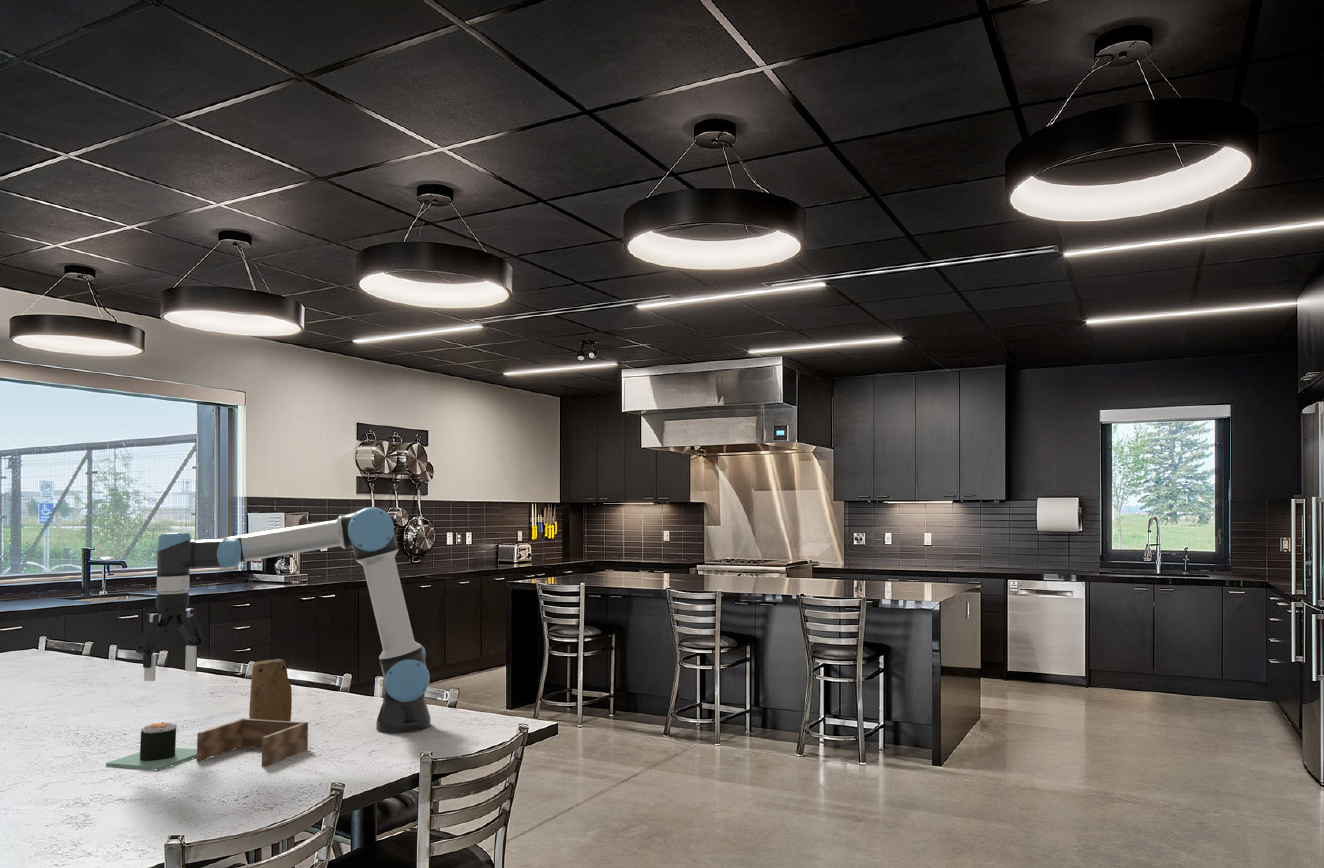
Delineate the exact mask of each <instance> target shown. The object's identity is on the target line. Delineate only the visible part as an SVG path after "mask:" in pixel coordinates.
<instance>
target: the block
mask: <svg viewBox="0 0 1324 868" xmlns="http://www.w3.org/2000/svg"><path fill="white" fill-rule="evenodd" d="M250 679H251V680H250V692H249V693H250V697H249V713H248V714H249V715H248V717H249V718H248V719H260V720H276V721H291V720H292V707H293V706H292V705H293V704H292V703H293V702H292V701H293V698H292V697H293V695H292V689H293V688H292V685H291V682H290V681H289V677H288V670H287V664H286V661H285V660H283V659H279V658H276V659H265V660H260V661H258V660H257V661H255V662H254V663H253V664H252V670H251V678H250Z"/></svg>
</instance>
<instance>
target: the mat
mask: <svg viewBox="0 0 1324 868" xmlns="http://www.w3.org/2000/svg"><path fill="white" fill-rule="evenodd" d="M194 757H196V758H197V748H196V749H195V748H186V747H185V748H183V747H182V748H181V747H175V756H173V757H170V758H167V759H160V760H153V761H142V760H140V751H139V752H136V753H133V754H130V755H129V754H128V755H126V756H123V757H120V758H117V759H114V760H110V761H108V762H105V766H106V767H109V766H113V768H121V767H124V768H123V769H135V770H146V769H157V770H156V771H158V770H159V771H161V770H160V769H162V770H164V768H165V769H167V768H166V767H168V768H170V767H169V766H171V765H174V766H176V765H179V764H182V763H184V762H183V761H185V762H186V761H187V762H188V761H191V760H192V758H193V759H195V758H194ZM181 762H182V763H181ZM178 763H179V764H178ZM171 767H172V766H171Z"/></svg>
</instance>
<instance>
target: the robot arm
mask: <svg viewBox="0 0 1324 868" xmlns="http://www.w3.org/2000/svg"><path fill="white" fill-rule="evenodd" d="M394 529H395V525H394V521H393V519H392V517H391V515H390V514H389V513H388V512H387V511H385V510H384V509H383V508H379V507H375V506H368V507H364V508H362V509H359V510H358V511H355V512H352V513H348V514H343V515H339V516H338V517H337V518H336V519H334V520H333V519H332V520H327V521H321V522H320V521H319V522H314V523H307V524H302V525H296V526H289V527H283V528H277V529H276V528H275V529H271V530H264V531H258V532H257V531H256V532H251V533H245V534H244V533H243V534H239V535H232V536H224V537H218V538H215V539H213V538H211V539H209V538H208V539H192V537H191V534H190V532H163V533H161V534H160V535H159V536H158V542H157V549H156V592H158V593H157V594H156V595H155V607H156V609H158V611H157V612H158V613H148V614H147V618H146V624H145V626H144V629H143V631H142V635H141V636H140V638H139V642H138V645H137V646H136V650H135V653H137V654H139V655H142V667H143V668H144V669H143V670H144V671H143V672H144V673H143V681H144V682H155V681H156V669H157V665H156V664H157V663H156V661H157V654H156V653H154V652H155V650H156V649H157V647H158V646H159V644H160V643H161V641H162V640H163V638H164V636H165V634H166V633H168V632H169V631H170V630H174V629H177V630H178V631H179V633H180V634H181V636H182V637H183V639H184V640H185V641H186V643H187V644H188V645H186V646H185V663H184V664H185V665H184V666H185V667H184V671H185V672H196V671H197V657H198V649H199V647H198V646H201V645H202V644H203V643H204V641H205V637H204V634H203V631H202V629H201V626H200V622H199V620H198V618H197V610H196V608H193V607H192V608H191V607H190V608H188V607H189V605H190V593H189V592H188V591H189V590H190V579H191V578H190V573H191V572H190V571H191V570H190V569H193V570H194V569H196V570H197V569H219V568H220V569H221V568H222V569H227V568H228V569H229V568H236V567H238V566H239V565H240V564H241V563H244V562H250V561H251V562H252V561H256V560H261V559H262V560H263V559H268V558H274V557H280V556H286V555H291V554H293V555H294V554H299V553H305V552H311V551H317V550H323V549H329V548H335V547H341V548H342V549H344V550H345V549H350V548H351V549H352V551H353V555H354V560H355V562H357V563H358V564H360V565H361V566H362V567H363V571H364V575H365V580H366V583H367V589H368V592H369V596H370V601H371V605H372V610H373V613H374V617H375V622H376V626H377V630H378V634H379V638H380V643H381V646H382V651H381V653H380V654H379V656H378V658H379V664H380V667H381V668H380V669H381V672H382V675H383V683H382V684H383V688H382V689H383V690H382V691H383V692H382V695H383V697H382V703H381V707H380V710H379V712H378V715H377V719H376V724H375V725H376V731H378V732H381V733H388V734H403V733H405V734H406V733H412V732H418V731H422V730H426V729H427V728H429V727H430V726H431V720H432V719H431V715H430V712H429V707H428V706H427V702H426V697H425V694H426V693H425V692H426V691H427V689H428V687H429V685H430V681H431V676H430V671H429V669H428V667H427V664H426V657H427V654H426V648H425V647H424V646H423V645H422V644H421V643H419V642H417V641H415V637H414V633H413V629H412V625H411V621H410V616H409V613H408V608H407V604H406V599H405V597H404V591H403V587H402V584H401V583H402V582H401V579H400V575H399V571H398V566H397V563H396V562H397V561H396V555H397V553H398V551H399V547H398V542H397V537H396V533H395V530H394ZM202 642H203V643H202Z"/></svg>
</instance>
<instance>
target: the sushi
mask: <svg viewBox="0 0 1324 868" xmlns="http://www.w3.org/2000/svg"><path fill="white" fill-rule="evenodd" d="M177 728H178V725H177V724H176V723H170V722H169V723H168V722H160V723H151V724H150V725H145V726H144V727H143V728H141V730H140V743H139V745H140V746H139V748H140V749H139V752H140V760H142V761H153V760H160V759H167V758H170V757H173V756H175V748H176V747H177V745H176V741H177V740H176V739H177Z"/></svg>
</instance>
